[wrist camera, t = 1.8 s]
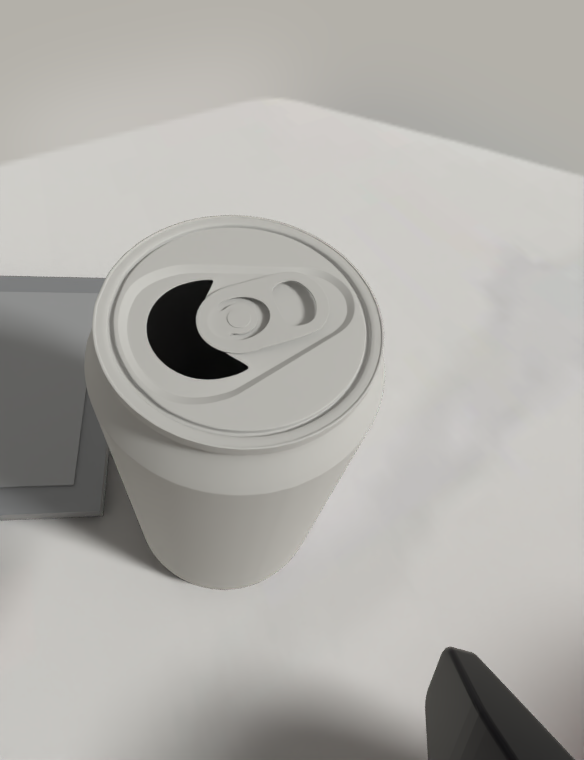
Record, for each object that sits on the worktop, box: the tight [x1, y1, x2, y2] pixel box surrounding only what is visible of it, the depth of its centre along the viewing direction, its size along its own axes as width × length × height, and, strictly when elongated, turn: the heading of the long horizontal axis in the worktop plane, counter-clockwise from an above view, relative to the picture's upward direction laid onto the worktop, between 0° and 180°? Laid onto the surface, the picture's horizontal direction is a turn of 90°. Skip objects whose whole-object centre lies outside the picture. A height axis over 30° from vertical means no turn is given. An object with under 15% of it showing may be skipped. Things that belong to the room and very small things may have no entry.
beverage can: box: [84, 215, 385, 590], centre depth 15 cm, size 6×6×12 cm
